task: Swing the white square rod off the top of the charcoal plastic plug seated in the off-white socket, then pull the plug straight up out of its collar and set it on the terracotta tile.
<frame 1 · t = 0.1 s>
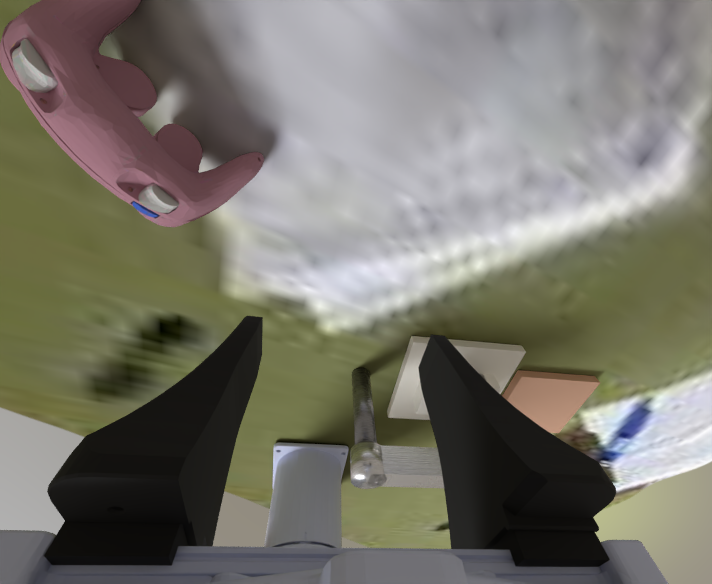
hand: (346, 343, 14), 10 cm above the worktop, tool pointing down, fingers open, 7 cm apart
white square rod: (448, 467, 23), point 8 cm above the worktop, hinge at 0.0°
tile: (537, 400, 33), on the worktop
socket: (449, 380, 31), on the worktop
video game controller: (174, 111, 18), on the worktop
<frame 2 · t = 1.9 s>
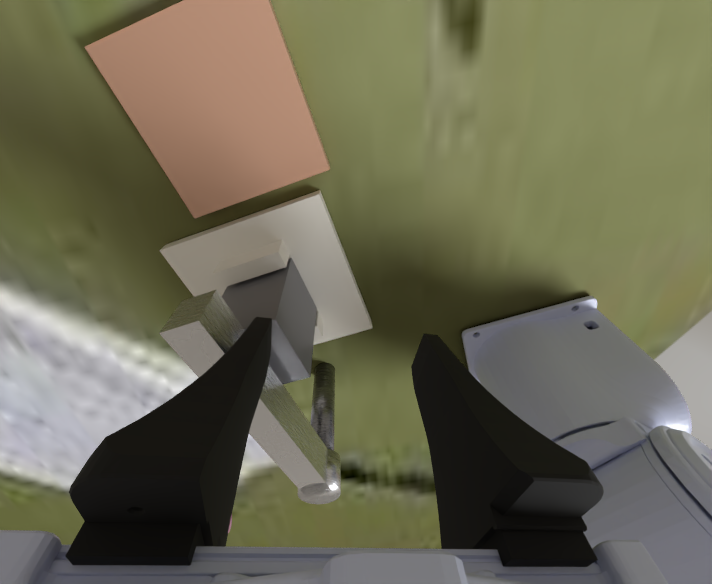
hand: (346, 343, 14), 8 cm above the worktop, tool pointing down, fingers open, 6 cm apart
plug: (276, 293, 21), point 1 cm above the worktop, touching socket
white square rod: (274, 418, 16), point 8 cm above the worktop, hinge at 0.2°, touching gripper
tile: (224, 113, 16), on the worktop
socket: (278, 286, 22), on the worktop
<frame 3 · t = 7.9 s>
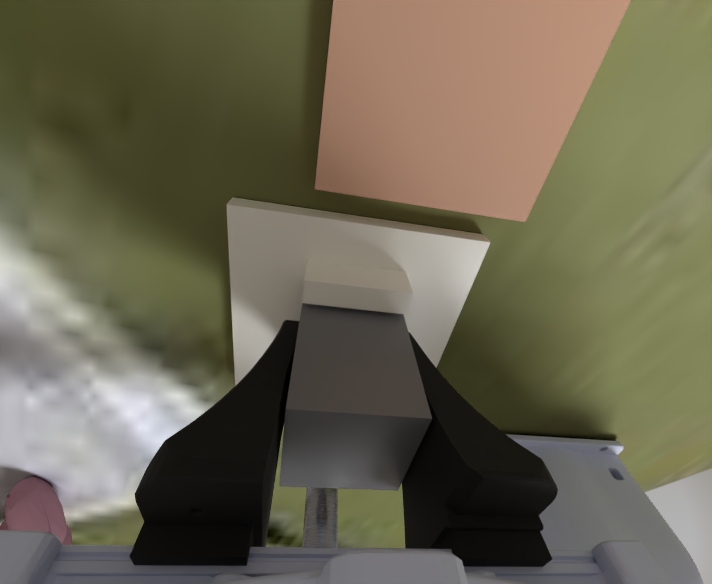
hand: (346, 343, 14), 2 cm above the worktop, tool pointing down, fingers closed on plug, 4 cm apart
plug: (345, 327, 15), point 1 cm above the worktop, touching gripper, socket
tile: (454, 76, 10), on the worktop
socket: (345, 316, 15), on the worktop
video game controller: (32, 503, 24), on the worktop
when the fingers open (3 cm above the worktop, at t = 11.3 s): plug drops 1 cm, resting on tile.
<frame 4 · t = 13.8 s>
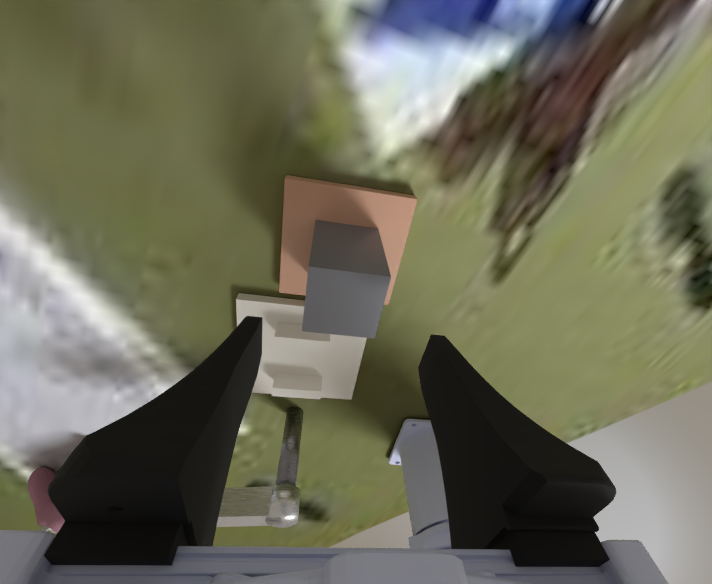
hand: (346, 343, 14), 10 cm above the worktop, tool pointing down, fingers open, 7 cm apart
plug: (342, 252, 22), point 1 cm above the worktop, touching tile
white square rod: (204, 507, 24), point 8 cm above the worktop, hinge at 96.2°
tile: (342, 244, 22), on the worktop
socket: (301, 348, 27), on the worktop
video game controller: (91, 461, 35), on the worktop
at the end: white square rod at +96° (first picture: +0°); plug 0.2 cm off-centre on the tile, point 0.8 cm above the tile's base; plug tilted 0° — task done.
